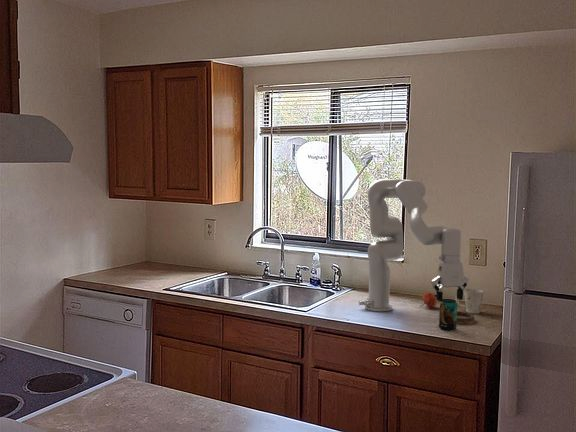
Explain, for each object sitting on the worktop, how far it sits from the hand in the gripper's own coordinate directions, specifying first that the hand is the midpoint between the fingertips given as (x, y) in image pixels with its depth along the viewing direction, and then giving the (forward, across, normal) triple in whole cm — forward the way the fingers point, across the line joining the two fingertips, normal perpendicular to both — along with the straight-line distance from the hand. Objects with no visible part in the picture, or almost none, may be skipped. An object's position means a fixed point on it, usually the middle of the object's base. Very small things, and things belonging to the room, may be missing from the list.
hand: (449, 299), depth 260 cm
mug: (+12, +27, +24) cm, 38 cm away
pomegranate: (+12, +13, +35) cm, 39 cm away
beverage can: (+13, 0, +1) cm, 13 cm away
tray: (+12, +13, +12) cm, 21 cm away
